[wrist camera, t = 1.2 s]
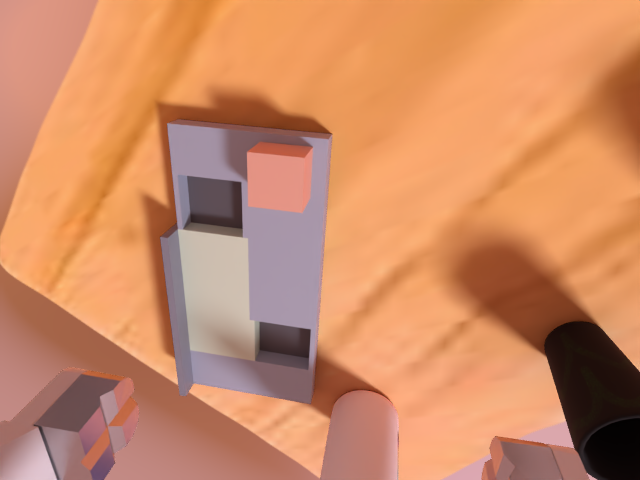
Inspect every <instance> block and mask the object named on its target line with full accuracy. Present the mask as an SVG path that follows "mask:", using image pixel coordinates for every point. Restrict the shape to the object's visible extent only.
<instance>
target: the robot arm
mask: <svg viewBox="0 0 640 480" xmlns="http://www.w3.org/2000/svg"><path fill="white" fill-rule="evenodd" d="M134 390H135V389H134V385H133V381H132V379H130V378H127V377H121V376H116V375H111V374H105V373H100V372H95V371H89V370H83V369H77V368H72V367H69V368H67V369H64V370H62V371H61V372H60V373H59V374H58V375H57V376H56V377H55V378H54V379H53V380H52V381H51V382H50V383H49V384H48V385H47V386H46V387H45V388H44V389H43V390H42V391H41V392H39V394H37V396H35V398H33V400H31V402H29V403H28V404H27V405H26V406H25V407H24V408H23V409H22V410H21V411H20V412H19V413H18V414H17V415H16V416H15V417H14V418H13V419H12V420H11V421H2V422H0V480H104V479H105V477H106V476H107V474H108V473H109V472H110V470H111V468H112V467H113V465H114V464H115V456H114V453H116V452H117V451H119V450H121V449H122V448H124V447H126V446H127V444H128V443H129V441H130V440H131V438H132V437H133V435H134V432H135V430H136V427H137V424H138V420H139V408H138V404H137V403H136V402H135V401H134V399H133V398H132V397H131V394H132V393H133V391H134ZM490 453H491V458H492V459H490V460H488V461H487V462H485V464H484V468H483V472H482V480H590V479H589V477H588V475H587V472H586V470H585V468H584V466H583V463H582V461H581V459H580V457H579V454H578V453H577V452H576V451H575V449H573V448H569V447H563V446H556V445H550V444H544V443H539V442H532V441H525V440H518V439H512V438H505V437H498V436H495V437H494V438H493V440H492V442H491V445H490Z"/></svg>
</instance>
